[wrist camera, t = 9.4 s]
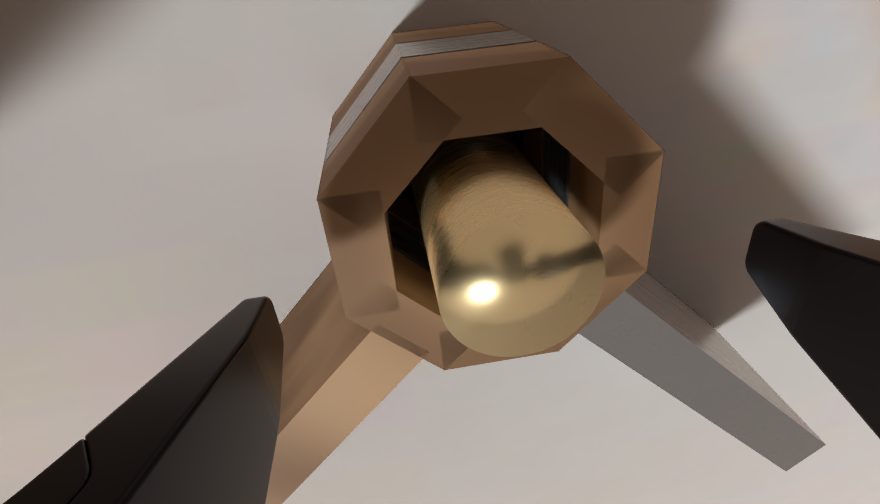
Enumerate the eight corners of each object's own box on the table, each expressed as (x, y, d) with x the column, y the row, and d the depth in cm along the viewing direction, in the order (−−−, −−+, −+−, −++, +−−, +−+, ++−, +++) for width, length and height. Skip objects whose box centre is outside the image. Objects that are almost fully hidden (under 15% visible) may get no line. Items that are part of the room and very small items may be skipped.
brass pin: (384, 155, 15) (402, 310, 9) (446, 76, 14) (521, 179, 8) (457, 207, 17) (523, 379, 10) (518, 137, 16) (638, 273, 9)
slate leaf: (295, 168, 15) (260, 273, 10) (437, -33, 13) (487, -29, 8) (637, 388, 22) (719, 516, 17) (766, 282, 20) (904, 392, 15)
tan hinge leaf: (437, -33, 13) (487, -29, 8) (604, 126, 16) (718, 205, 11) (142, 383, 19) (58, 544, 13) (304, 446, 21) (286, 599, 16)
